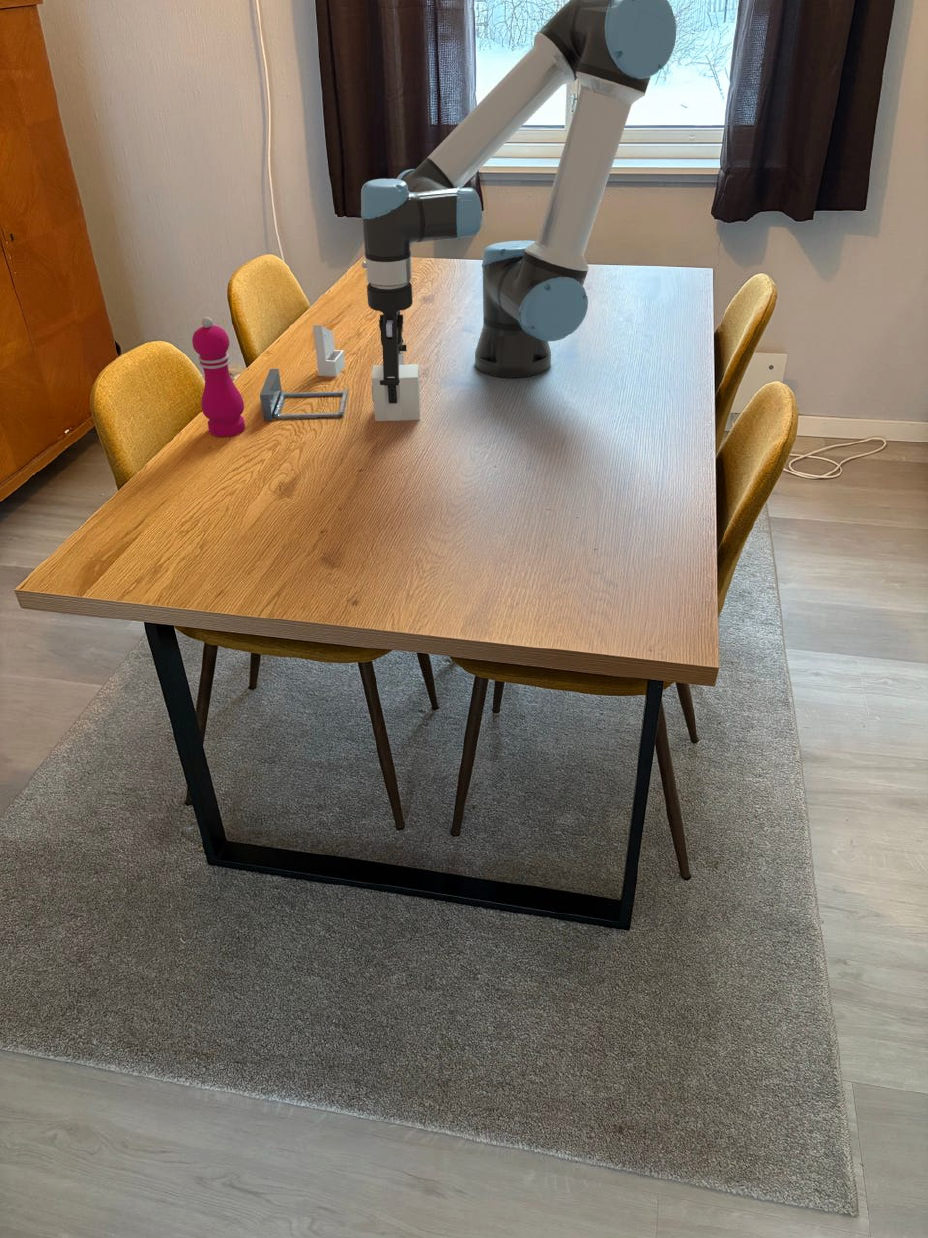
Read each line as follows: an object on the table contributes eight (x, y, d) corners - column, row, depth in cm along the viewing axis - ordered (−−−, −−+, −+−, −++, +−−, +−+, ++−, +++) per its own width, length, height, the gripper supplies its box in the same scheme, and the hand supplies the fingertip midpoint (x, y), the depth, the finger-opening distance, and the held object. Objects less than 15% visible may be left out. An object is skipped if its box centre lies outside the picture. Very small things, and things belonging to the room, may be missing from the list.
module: (420, 405, 172) (418, 363, 167) (420, 419, 167) (417, 377, 162) (376, 407, 172) (372, 365, 167) (374, 421, 167) (370, 378, 162)
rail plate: (348, 392, 178) (345, 366, 175) (342, 419, 168) (339, 392, 165) (273, 394, 178) (269, 368, 175) (263, 421, 168) (259, 394, 165)
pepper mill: (255, 423, 167) (236, 311, 155) (234, 440, 162) (213, 326, 150) (220, 418, 169) (199, 308, 157) (198, 435, 164) (174, 322, 152)
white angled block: (310, 372, 180) (312, 325, 179) (327, 379, 189) (329, 335, 188) (328, 373, 179) (331, 326, 178) (344, 380, 189) (347, 335, 188)
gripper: (371, 260, 166) (378, 376, 178) (361, 307, 146) (370, 433, 158) (413, 260, 166) (418, 375, 178) (409, 306, 146) (414, 432, 158)
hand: (395, 402), depth 168 cm, fingers open, 13 cm apart
